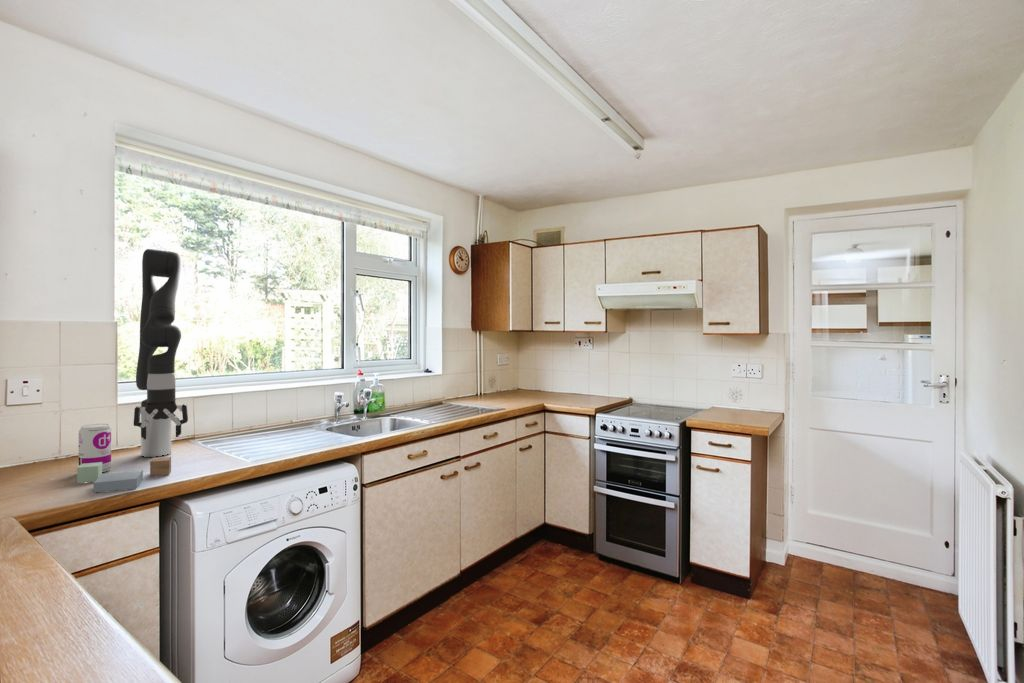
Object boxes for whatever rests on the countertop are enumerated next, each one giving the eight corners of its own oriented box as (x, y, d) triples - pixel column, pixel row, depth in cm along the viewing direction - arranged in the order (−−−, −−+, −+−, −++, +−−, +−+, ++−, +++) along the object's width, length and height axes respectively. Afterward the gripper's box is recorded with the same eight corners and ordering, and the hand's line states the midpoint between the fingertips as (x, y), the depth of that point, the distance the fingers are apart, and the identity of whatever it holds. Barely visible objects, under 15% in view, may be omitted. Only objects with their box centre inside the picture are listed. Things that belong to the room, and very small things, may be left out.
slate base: (102, 483, 154) (102, 473, 154) (142, 479, 159) (142, 470, 159) (93, 493, 145) (93, 482, 145) (136, 488, 150) (136, 478, 150)
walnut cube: (152, 473, 166) (152, 457, 166) (171, 471, 169) (171, 456, 168) (150, 477, 162) (150, 461, 162) (169, 475, 164) (169, 460, 164)
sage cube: (81, 479, 158) (81, 463, 158) (102, 477, 160) (102, 462, 160) (77, 484, 154) (77, 467, 153) (98, 482, 156) (98, 465, 156)
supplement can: (117, 470, 169) (117, 424, 168) (89, 476, 161) (89, 429, 161) (100, 467, 171) (100, 422, 171) (72, 473, 164) (72, 426, 163)
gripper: (188, 385, 171) (188, 434, 172) (136, 387, 165) (136, 437, 165) (186, 387, 165) (186, 438, 165) (131, 389, 158) (131, 442, 158)
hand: (161, 437), depth 165 cm, fingers open, 8 cm apart
